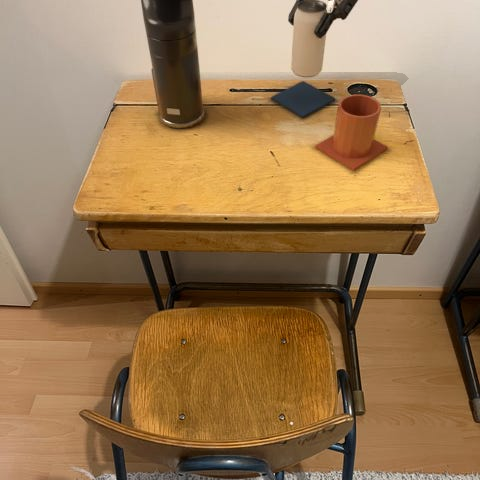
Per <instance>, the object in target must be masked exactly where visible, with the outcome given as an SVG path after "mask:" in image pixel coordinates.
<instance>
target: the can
mask: <svg viewBox="0 0 480 480" xmlns="http://www.w3.org/2000/svg"><path fill="white" fill-rule="evenodd" d="M327 7H328V4H327V3H326V2H324V1H322V0H304V1H301V2H299V3H298V4H297V10H296V12H295V15H294V26H292V27H293V28H292V29H293V30H292V45H291V63H290V65H291V66H290V69H291V71H292V73H293V74H294V75H295V76H297V77H300V78H313V77H317V76H318V75H319V74H320V73H321V72H322V70H323V65H324V55H325V47H326V38H327V33H326V34H325V35H324V36H323V37H322V38H321V39H320V38H318V37H317V36H316V35H315V34H314V31H315V29H316V27H317V25H318V23H319V22H320V20H321V18H322V16H323V15H324V13H327Z"/></svg>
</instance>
